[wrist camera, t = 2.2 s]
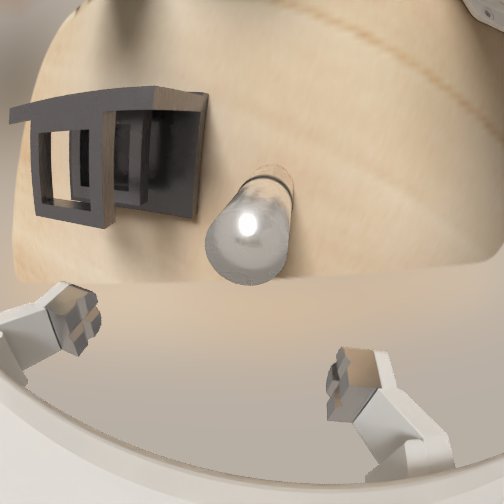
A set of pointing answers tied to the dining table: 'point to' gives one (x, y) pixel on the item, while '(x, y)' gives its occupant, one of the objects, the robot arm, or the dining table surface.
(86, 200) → the collar stand
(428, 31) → the dining table surface
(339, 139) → the dining table surface
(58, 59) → the dining table surface
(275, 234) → the grey cylinder
